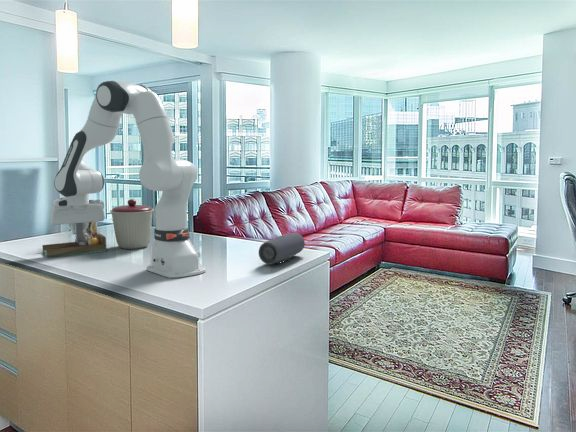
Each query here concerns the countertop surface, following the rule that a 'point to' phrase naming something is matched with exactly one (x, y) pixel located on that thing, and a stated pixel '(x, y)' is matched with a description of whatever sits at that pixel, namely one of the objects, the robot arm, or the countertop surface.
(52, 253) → the brown wooden tray
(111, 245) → the countertop surface
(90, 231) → the coffee box
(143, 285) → the countertop surface
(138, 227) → the canister
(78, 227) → the striker
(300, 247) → the bluetooth speaker
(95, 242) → the ball
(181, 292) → the countertop surface
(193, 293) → the countertop surface
